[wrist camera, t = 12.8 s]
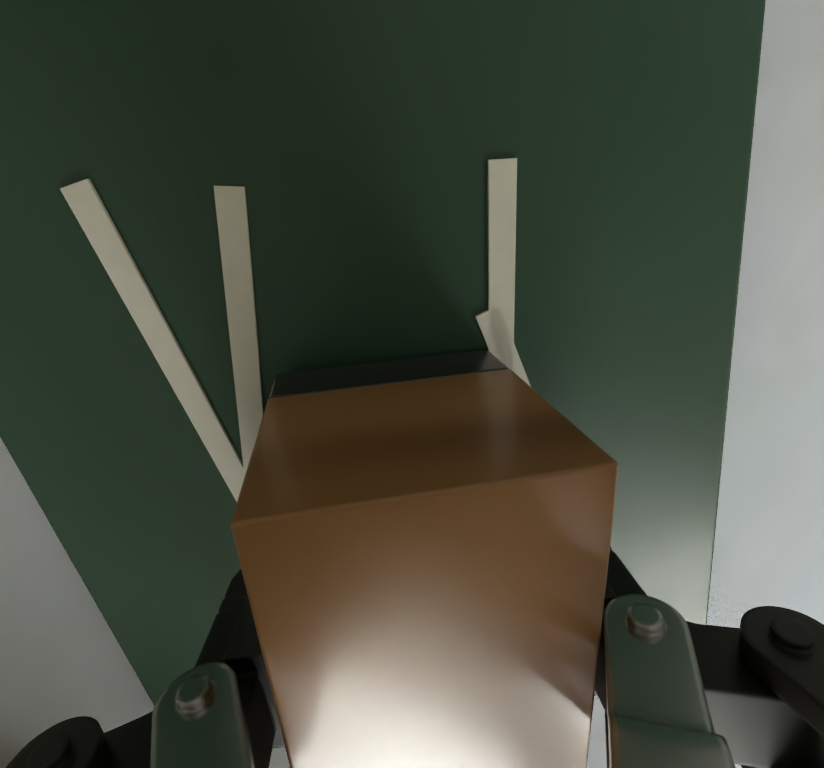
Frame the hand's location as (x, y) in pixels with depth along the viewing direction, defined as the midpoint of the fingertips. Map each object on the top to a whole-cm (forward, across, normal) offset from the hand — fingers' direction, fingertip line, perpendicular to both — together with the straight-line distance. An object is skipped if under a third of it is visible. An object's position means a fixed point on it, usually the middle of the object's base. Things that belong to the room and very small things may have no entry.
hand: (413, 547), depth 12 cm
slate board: (+2, 0, -3) cm, 4 cm away
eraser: (+1, 0, +1) cm, 1 cm away
